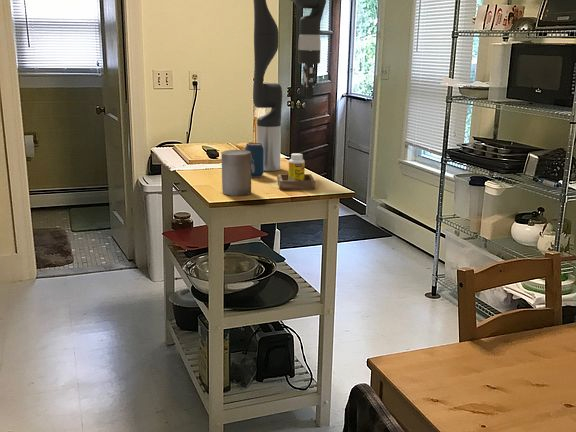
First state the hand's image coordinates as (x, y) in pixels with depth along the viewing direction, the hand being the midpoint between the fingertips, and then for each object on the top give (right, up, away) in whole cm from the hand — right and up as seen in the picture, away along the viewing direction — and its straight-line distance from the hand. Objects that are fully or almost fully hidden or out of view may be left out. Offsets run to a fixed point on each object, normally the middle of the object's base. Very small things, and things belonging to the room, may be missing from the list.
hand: (308, 97), depth 216 cm
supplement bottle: (-4, -29, +4) cm, 30 cm away
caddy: (-4, -30, +4) cm, 31 cm away
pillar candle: (-24, -33, -8) cm, 42 cm away
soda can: (-20, -26, +20) cm, 38 cm away
